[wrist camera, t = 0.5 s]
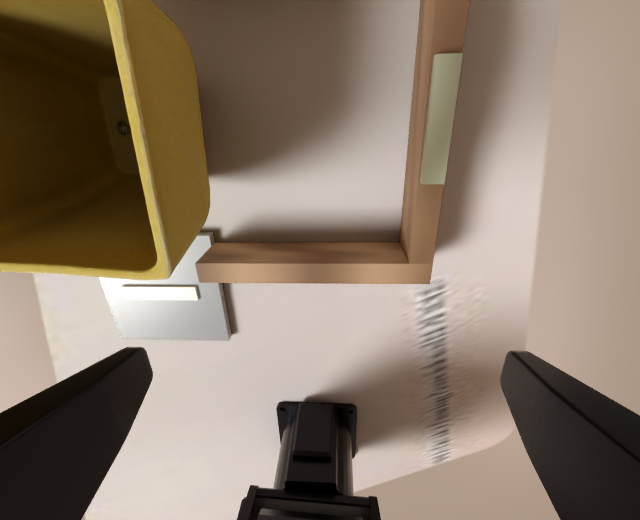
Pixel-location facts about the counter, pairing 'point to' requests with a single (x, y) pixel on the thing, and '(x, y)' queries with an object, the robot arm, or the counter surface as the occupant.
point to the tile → (171, 303)
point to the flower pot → (98, 140)
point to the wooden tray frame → (419, 189)
